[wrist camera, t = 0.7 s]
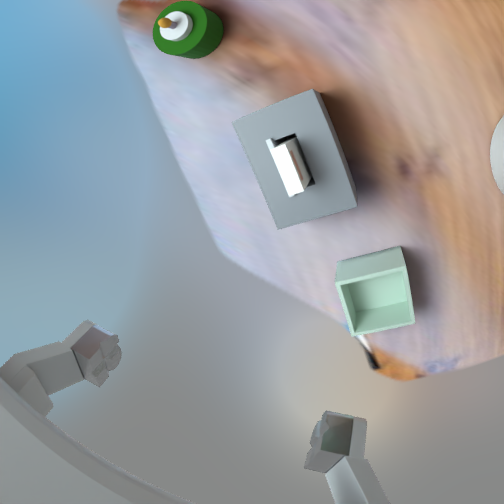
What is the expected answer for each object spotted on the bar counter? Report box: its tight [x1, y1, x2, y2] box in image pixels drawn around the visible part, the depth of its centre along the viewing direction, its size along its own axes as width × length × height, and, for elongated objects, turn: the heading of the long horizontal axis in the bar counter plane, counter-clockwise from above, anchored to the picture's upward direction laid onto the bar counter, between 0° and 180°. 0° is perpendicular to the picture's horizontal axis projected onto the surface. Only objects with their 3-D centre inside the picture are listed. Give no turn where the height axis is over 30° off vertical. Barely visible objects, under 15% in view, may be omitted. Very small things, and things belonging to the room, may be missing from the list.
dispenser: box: [232, 89, 357, 230], centre depth 36 cm, size 10×14×9 cm
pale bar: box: [270, 136, 312, 196], centre depth 34 cm, size 2×5×11 cm, turn 24°
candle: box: [153, 1, 223, 59], centre depth 31 cm, size 8×8×10 cm
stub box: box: [335, 246, 415, 336], centre depth 42 cm, size 10×10×6 cm
